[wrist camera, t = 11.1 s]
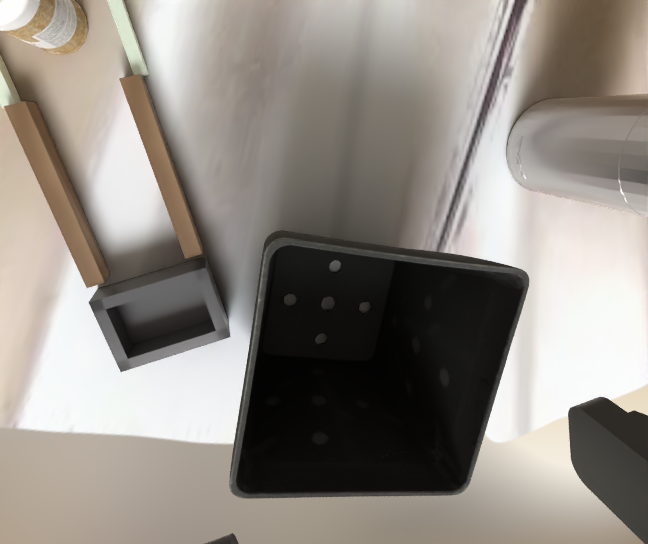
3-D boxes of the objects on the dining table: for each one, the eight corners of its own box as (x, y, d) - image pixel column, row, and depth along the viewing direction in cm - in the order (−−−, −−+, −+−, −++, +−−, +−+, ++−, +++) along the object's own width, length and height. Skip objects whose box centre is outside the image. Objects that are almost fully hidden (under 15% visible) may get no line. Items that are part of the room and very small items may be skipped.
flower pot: (246, 194, 43) (267, 237, 28) (431, 221, 48) (537, 271, 33) (221, 377, 48) (227, 501, 33) (391, 385, 54) (466, 495, 38)
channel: (143, 76, 39) (138, 73, 36) (202, 246, 44) (202, 254, 42) (16, 106, 37) (3, 106, 35) (93, 278, 43) (86, 287, 40)
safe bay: (97, -75, 35) (93, -83, 34) (149, 74, 39) (147, 73, 37) (-60, -45, 33) (-71, -52, 32) (9, 108, 37) (2, 108, 36)
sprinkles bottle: (10, 21, 36) (-97, -31, 23) (50, -25, 35) (-38, -103, 23) (64, 69, 37) (-9, 45, 25) (103, 25, 37) (48, -22, 24)
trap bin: (205, 256, 44) (205, 267, 41) (228, 321, 47) (230, 336, 43) (97, 288, 43) (88, 302, 40) (127, 353, 45) (120, 371, 42)
